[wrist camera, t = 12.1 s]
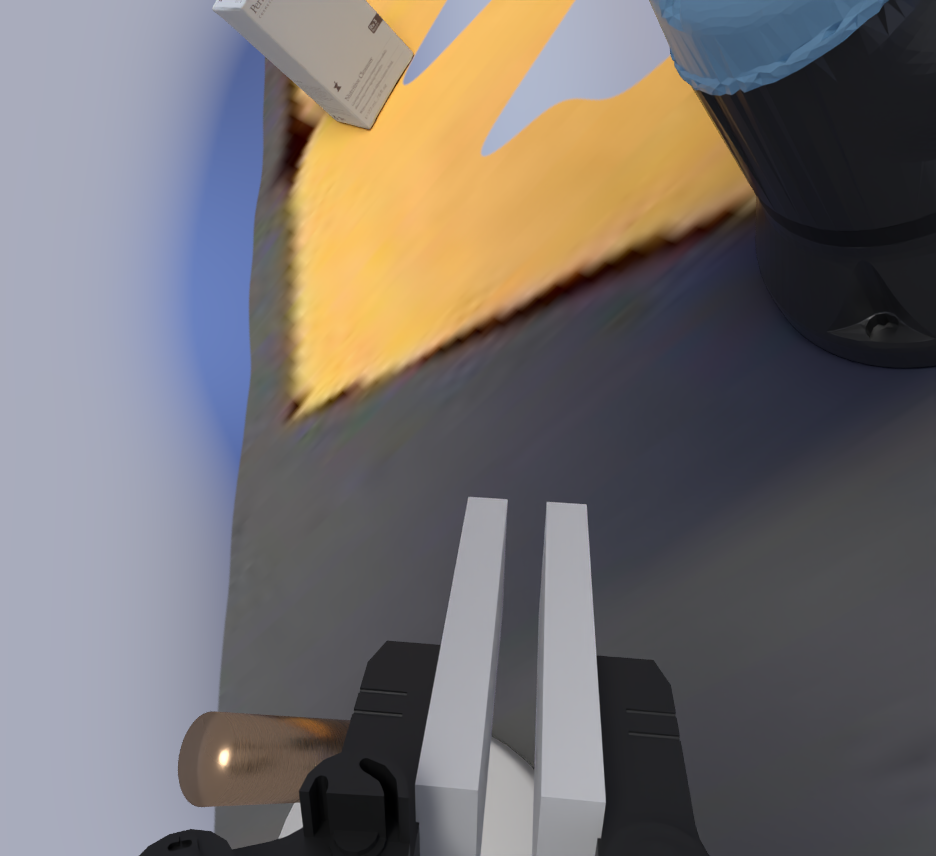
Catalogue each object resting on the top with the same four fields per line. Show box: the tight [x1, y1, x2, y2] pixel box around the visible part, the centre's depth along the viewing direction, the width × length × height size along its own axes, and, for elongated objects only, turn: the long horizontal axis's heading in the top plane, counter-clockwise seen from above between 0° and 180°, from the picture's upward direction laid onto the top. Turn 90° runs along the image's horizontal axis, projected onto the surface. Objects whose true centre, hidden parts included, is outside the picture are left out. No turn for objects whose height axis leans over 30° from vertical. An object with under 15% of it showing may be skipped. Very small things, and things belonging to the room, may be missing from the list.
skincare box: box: [212, 0, 413, 129], centre depth 68 cm, size 8×6×15 cm
